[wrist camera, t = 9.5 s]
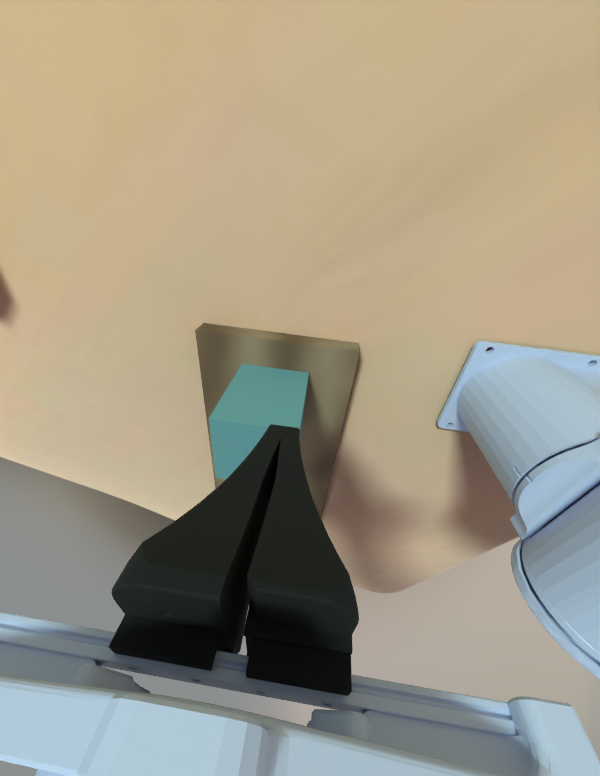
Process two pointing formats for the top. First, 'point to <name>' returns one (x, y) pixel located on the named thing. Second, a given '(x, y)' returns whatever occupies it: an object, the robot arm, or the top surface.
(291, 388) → the teal block
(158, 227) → the top surface
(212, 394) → the brown wooden board
